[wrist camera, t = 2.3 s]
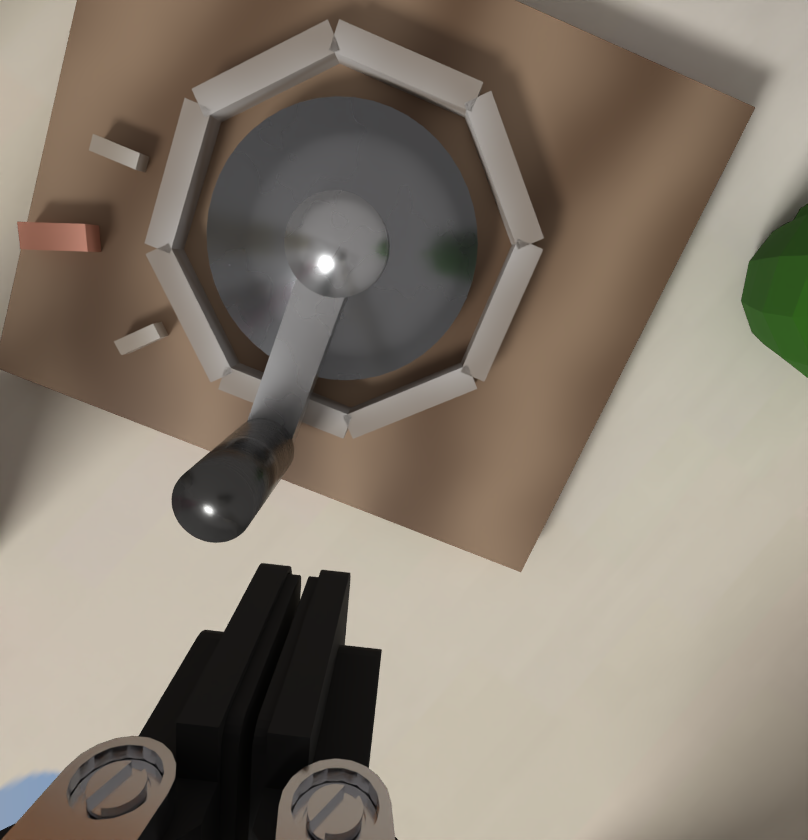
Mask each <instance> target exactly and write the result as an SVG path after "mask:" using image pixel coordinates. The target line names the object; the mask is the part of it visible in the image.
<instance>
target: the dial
mask: <svg viewBox="0 0 808 840" xmlns="http://www.w3.org/2000/svg"><path fill="white" fill-rule="evenodd" d="M477 248H478V238H477V223H476V217H475V211H474V206H473V203H472V200H471V196H470V193H469V190H468V187H467V185H466V183H465V181H464V179H463V176H462V174H461V172H460V170H459V169H458V167H457V165H456V164H455V162H454V160H453V159H452V157H451V156H450V154H449V153H448V152H447V151H446V149H445V148H444V147H443V146H442V144H441V143H440V142H439V141H438V140H437V139H436V138H435V137H434V136H433V135H432V134H431V133H430V132H429V131H428V130H427V129H425V128H424V127H423V126H422V125H420V124H419V123H418V122H416V121H415V120H413V119H412V118H410V117H409V116H407V115H406V114H404V113H402V112H400V111H398V110H396V109H394V108H392V107H389V106H387V105H384V104H381V103H378V102H375V101H372V100H366V99H361V98H356V97H341V96H333V97H323V98H315V99H311V100H307V101H303V102H299V103H297V104H294V105H292V106H289V107H287V108H284V109H282V110H280V111H278V112H277V113H275V114H273V115H272V116H270V117H268V118H266V119H265V120H264V121H263V122H261V123H260V124H259V125H258V126H256V127H255V128H254V129H252V130H251V131H250V132H249V133H248V134H247V135H246V137H245V138H244V139H243V140H242V141H241V142H240V143H239V144H238V145H237V147H236V148H235V150H234V151H233V152H232V154H231V155H230V156H229V158H228V159H227V161H226V163H225V165H224V167H223V169H222V171H221V173H220V174H219V177H218V179H217V182H216V185H215V188H214V190H213V193H212V197H211V202H210V206H209V210H208V220H207V251H208V258H209V265H210V269H211V272H212V276H213V280H214V283H215V286H216V288H217V291H218V293H219V295H220V298H221V300H222V302H223V304H224V306H225V307H226V309H227V311H228V313H229V314H230V316H231V317H232V319H233V320H234V322H235V323H236V324H237V326H238V327H239V328H240V330H241V331H242V332H243V333H244V334H245V335H246V336H247V337H248V338H249V339H250V340H251V341H252V343H254V344H255V345H256V346H257V347H258V348H260V349H261V350H262V351H263V352H264V353H266V354H267V355H269V356H270V357H269V359H268V362H267V365H266V368H265V371H264V374H263V377H262V380H261V383H260V385H259V388H258V391H257V394H256V397H255V400H254V403H253V406H252V409H251V412H250V414H249V417H248V420H247V422H245V423H244V424H242V425H241V426H240V427H239V428H238V429H236V430H235V431H234V432H233V433H232V434H230V435H229V436H228V437H227V438H226V439H225V440H223V441H222V442H221V443H220V444H219V445H218V446H216V447H215V448H214V449H213V450H212V451H210V452H209V453H208V454H207V455H206V456H205V457H203V458H202V459H201V460H200V461H199V462H198V463H196V464H195V465H194V466H193V467H192V468H191V469H189V470H188V471H187V472H186V473H185V474H184V475H182V476H181V477H180V479H179V480H178V481H177V483H176V485H175V487H174V489H173V493H172V508H173V511H174V515H175V517H176V519H177V520H178V522H179V524H180V525H181V526H182V527H183V528H184V529H185V530H186V531H187V532H188V533H189V534H191V535H192V536H194V537H196V538H198V539H200V540H203V541H207V542H215V543H217V542H226V541H229V540H232V539H234V538H236V537H238V536H239V535H240V534H242V533H243V532H244V531H245V529H246V528H247V527H248V526H249V524H250V523H251V521H252V520H253V518H254V517H255V515H256V514H257V513H258V511H259V510H260V508H261V507H262V505H263V504H264V503H265V501H266V500H267V498H268V497H269V495H270V494H271V492H272V491H273V490H274V488H275V487H276V485H277V484H278V482H279V481H280V480H281V478H282V477H283V475H284V474H285V472H286V471H287V469H288V468H289V467H290V465H291V463H292V461H293V458H294V444H293V443H294V441H295V438H296V435H297V433H298V430H299V427H300V424H301V422H302V419H303V416H304V414H305V411H306V408H307V406H308V403H309V400H310V397H311V395H312V392H313V389H314V387H315V384H316V381H317V379H318V377H320V378H325V379H333V380H357V379H366V378H371V377H376V376H380V375H383V374H386V373H389V372H392V371H395V370H397V369H399V368H401V367H403V366H405V365H407V364H409V363H411V362H412V361H414V360H415V359H417V358H418V357H420V356H421V355H423V354H424V353H425V352H426V351H428V350H429V349H430V348H431V347H432V346H433V345H434V344H435V343H437V342H438V340H439V339H440V338H441V337H442V336H443V335H444V334H445V333H446V331H447V330H448V329H449V328H450V326H451V325H452V323H453V322H454V320H455V319H456V317H457V316H458V314H459V312H460V310H461V308H462V306H463V304H464V302H465V300H466V298H467V295H468V292H469V290H470V287H471V284H472V281H473V276H474V271H475V267H476V260H477Z"/></svg>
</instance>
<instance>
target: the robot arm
mask: <svg viewBox="0 0 808 840" xmlns="http://www.w3.org/2000/svg"><path fill="white" fill-rule="evenodd" d="M349 589H350V573H346V572H337V571H328V570H321V572H320V575H319V577H311V576H309V578H308V580H307V583H306V585H305V588H304V591H303V594H302V597H301V599H300V592H301V576H300V575H293V574H292V571H291V566H283V565H274V564H265V563H261V564H260V565H259V567H258V569H257V571H256V573H255V575H254V576H253V578H252V580H251V582H250V584H249V586H248V588H247V590H246V592H245V593H244V595H243V597H242V599H241V601H240V603H239V605H238V607H237V609H236V610H235V612H234V614H233V616H232V618H231V620H230V622H229V624H228V625H227V627H226V629H225V631H224V632H220V631H211V630H204V631H202V632H201V633H200V634H199V635H198V637H197V638H196V640H195V642H194V643H193V645H192V647H191V649H190V650H189V652H188V654H187V655H186V657H185V659H184V660H183V662H182V664H181V665H180V667H179V669H178V670H177V672H176V674H175V676H174V677H173V679H172V681H171V682H170V684H169V686H168V687H167V689H166V691H165V692H164V694H163V696H162V697H161V699H160V701H159V703H158V704H157V706H156V708H155V709H154V711H153V713H152V714H151V716H150V718H149V719H148V721H147V723H146V724H145V726H144V728H143V730H142V731H141V733H140V735H139V736H129V737H121V738H115V739H112V740H109V741H106V742H103V743H100V744H97V745H96V746H94V747H92V748H90V749H89V750H87V751H85V752H83V753H82V754H80V755H79V756H78V757H77V758H76V759H75V760H74V761H72V762H71V763H70V764H69V765H68V766H67V767H66V768H65V769H64V770H63V771H62V772H61V773H60V775H59V776H58V777H57V778H56V779H55V780H54V781H53V782H52V784H51V785H50V786H49V787H48V788H47V789H46V790H45V791H44V792H43V794H42V795H41V796H40V797H39V798H38V799H37V800H36V801H35V803H34V804H33V805H32V806H31V807H30V808H29V809H28V810H27V812H26V813H25V814H24V815H23V816H22V817H21V818H20V819H19V820H18V821H17V823H16V824H13V825H11V826H9V827H7V828H5V829H3V830H1V831H0V840H398V839H397V838H396V837H395V833H394V824H393V814H392V805H391V800H390V797H389V793H388V790H387V787H386V786H385V785H384V783H383V782H382V780H381V779H380V777H379V776H378V775H377V774H375V773H374V772H373V771H372V770H370V769H369V761H370V752H371V743H372V734H373V725H374V716H375V707H376V698H377V688H378V679H379V670H380V661H381V651H382V649H373V648H364V647H355V646H346V645H345V635H346V623H347V612H348V600H349Z"/></svg>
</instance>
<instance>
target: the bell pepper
mask: <svg viewBox="0 0 808 840" xmlns="http://www.w3.org/2000/svg"><path fill="white" fill-rule="evenodd" d="M741 302H742V305H743V308H744V311H745V314H746V317H747V320H748V322H749V325H750V328H751V331H752V333H753V334H754V335H755V336H756V337H757V338H758V339H759V340H760V341H761V342H762V343H763V344H764V345H766V346H767V347H768V348H770V349H771V350H772V351H774V352H775V353H776V354H778V355H779V356H780V357H782V358H783V359H784V360H786V361H787V362H788V363H789V364H791V365H792V366H793V367H795V368H796V369H797V370H798V371H800V372H801V373H802V374H803V375H805V376H806V377H807V378H808V204H807V205H805V206H804V207H802V208H801V209H800V210H799V212H798V214H797V215H796V217H795V219H794V220H793V221H791V222H788V223H786V224H785V225H783V226H781V227H780V228H778V229H776V230H775V231H773V232H772V233H771V235H770V236H769V237H768V238H767V240H766V241H765V242H764V243H763V245H762V246H761V247H760V248H759V250H758V251H757V252H756V253H755V255H754V256H753V257H752V259H751V260H750V261H749V265H748V270H747V275H746V279H745V284H744V289H743V294H742V299H741Z"/></svg>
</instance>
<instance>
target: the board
mask: <svg viewBox="0 0 808 840" xmlns="http://www.w3.org/2000/svg"><path fill="white" fill-rule="evenodd" d="M333 96H341V97H356V98H361V99H366V100H372V101H375V102H378V103H381V104H384V105H387V106H389V107H392V108H394V109H396V110H398V111H400V112H402V113H404V114H406V115H407V116H409V117H410V118H412V119H413V120H415V121H416V122H418V123H419V124H420V125H422V126H423V127H424V128H425V129H427V130H428V131H429V132H430V133H431V134H432V135H433V136H434V137H435V138H436V139H437V140H438V141H439V142H440V143H441V144H442V146H443V147H444V148H445V149H446V151H447V152H448V153H449V154H450V156H451V157H452V159H453V160H454V162H455V164H456V165H457V167H458V169H459V170H460V172H461V174H462V176H463V179H464V181H465V183H466V185H467V187H468V190H469V193H470V196H471V200H472V203H473V206H474V211H475V217H476V223H477V238H478V248H477V260H476V267H475V271H474V276H473V281H472V284H471V287H470V290H469V292H468V295H467V298H466V300H465V302H464V304H463V306H462V308H461V310H460V312H459V314H458V316H457V317H456V319H455V320H454V322H453V323H452V325H451V326H450V328H449V329H448V330H447V331H446V333H445V334H444V335H443V336H442V337H441V338H440V339H439V340H438V342H437V343H435V344H434V345H433V346H432V347H431V348H430V349H429V350H428V351H426V352H425V353H424V354H423V355H421V356H420V357H418V358H417V359H415V360H414V361H412V362H411V363H409V364H407V365H405V366H403V367H401V368H399V369H397V370H395V371H392V372H389V373H386V374H383V375H380V376H376V377H371V378H366V379H357V380H333V379H325V378H320V377H318V379H317V381H316V384H315V387H314V389H313V392H312V395H311V397H310V400H309V403H308V406H307V408H306V411H305V414H304V416H303V419H302V422H301V424H300V427H299V430H298V433H297V435H296V438H295V441H294V443H293V444H294V458H293V461H292V463H291V465H290V467H289V468H288V469H287V471H286V472H285V474H284V475H283V477H282V478H281V479H283V480H286V481H288V482H291V483H293V484H296V485H298V486H301V487H304V488H306V489H309V490H311V491H314V492H316V493H319V494H322V495H324V496H327V497H329V498H332V499H334V500H337V501H340V502H342V503H345V504H347V505H350V506H352V507H355V508H357V509H360V510H363V511H365V512H368V513H370V514H373V515H375V516H378V517H381V518H383V519H386V520H388V521H391V522H393V523H396V524H399V525H401V526H404V527H406V528H409V529H411V530H414V531H417V532H419V533H422V534H424V535H427V536H429V537H432V538H435V539H437V540H440V541H442V542H445V543H447V544H450V545H453V546H455V547H458V548H460V549H463V550H465V551H468V552H470V553H473V554H476V555H478V556H481V557H483V558H486V559H488V560H491V561H494V562H496V563H499V564H501V565H504V566H506V567H509V568H512V569H514V570H517V571H519V572H521V571H522V569H523V567H524V565H525V563H526V561H527V559H528V557H529V555H530V553H531V551H532V549H533V547H534V545H535V543H536V541H537V539H538V537H539V535H540V533H541V531H542V529H543V527H544V525H545V523H546V522H547V520H548V518H549V516H550V514H551V512H552V510H553V508H554V506H555V504H556V502H557V500H558V498H559V496H560V494H561V492H562V490H563V488H564V486H565V484H566V482H567V480H568V478H569V476H570V474H571V472H572V470H573V468H574V466H575V464H576V462H577V460H578V458H579V456H580V454H581V452H582V450H583V448H584V446H585V444H586V442H587V440H588V438H589V436H590V434H591V432H592V430H593V428H594V426H595V424H596V422H597V420H598V418H599V416H600V414H601V412H602V410H603V408H604V406H605V405H606V403H607V401H608V399H609V397H610V395H611V393H612V391H613V389H614V387H615V385H616V383H617V381H618V379H619V377H620V375H621V373H622V371H623V369H624V367H625V365H626V363H627V361H628V359H629V357H630V355H631V353H632V351H633V349H634V347H635V345H636V343H637V341H638V339H639V337H640V335H641V333H642V331H643V329H644V327H645V325H646V323H647V321H648V319H649V317H650V315H651V313H652V311H653V309H654V307H655V305H656V303H657V301H658V299H659V297H660V295H661V293H662V291H663V290H664V288H665V286H666V284H667V282H668V280H669V278H670V276H671V274H672V272H673V270H674V268H675V266H676V264H677V262H678V260H679V258H680V256H681V254H682V252H683V250H684V248H685V246H686V244H687V242H688V240H689V238H690V236H691V234H692V232H693V230H694V228H695V226H696V224H697V222H698V220H699V218H700V216H701V214H702V212H703V210H704V208H705V206H706V204H707V202H708V200H709V198H710V196H711V194H712V192H713V190H714V188H715V186H716V184H717V182H718V180H719V178H720V176H721V175H722V173H723V171H724V169H725V167H726V165H727V163H728V161H729V159H730V157H731V155H732V153H733V151H734V149H735V147H736V145H737V143H738V141H739V139H740V137H741V135H742V133H743V131H744V129H745V127H746V125H747V123H748V121H749V119H750V117H751V115H752V113H753V111H754V109H755V107H753V106H751V105H749V104H747V103H745V102H742V101H740V100H738V99H736V98H733V97H731V96H729V95H727V94H724V93H722V92H720V91H718V90H715V89H713V88H711V87H709V86H706V85H704V84H702V83H700V82H697V81H695V80H693V79H691V78H688V77H686V76H684V75H682V74H680V73H677V72H675V71H673V70H671V69H668V68H666V67H664V66H662V65H659V64H657V63H655V62H653V61H650V60H648V59H646V58H644V57H641V56H639V55H637V54H635V53H632V52H630V51H628V50H626V49H623V48H621V47H619V46H617V45H615V44H612V43H610V42H608V41H606V40H603V39H601V38H599V37H597V36H594V35H592V34H590V33H588V32H585V31H583V30H581V29H579V28H576V27H574V26H572V25H570V24H567V23H565V22H563V21H561V20H559V19H556V18H554V17H552V16H550V15H547V14H545V13H543V12H541V11H538V10H536V9H534V8H532V7H529V6H527V5H525V4H523V3H520V2H518V1H516V0H77V3H76V7H75V12H74V16H73V20H72V25H71V29H70V34H69V38H68V43H67V47H66V52H65V56H64V61H63V65H62V69H61V74H60V78H59V83H58V87H57V92H56V96H55V101H54V105H53V109H52V114H51V118H50V123H49V127H48V132H47V136H46V141H45V145H44V149H43V154H42V158H41V163H40V167H39V172H38V176H37V181H36V185H35V189H34V194H33V198H32V203H31V207H30V212H29V216H28V221H27V222H17V224H18V233H19V241H20V249H21V252H20V256H19V261H18V265H17V269H16V274H15V278H14V283H13V287H12V292H11V296H10V301H9V305H8V309H7V314H6V318H5V323H4V327H3V332H2V336H1V341H0V369H1V370H3V371H6V372H8V373H11V374H13V375H16V376H19V377H21V378H24V379H26V380H29V381H31V382H34V383H37V384H39V385H42V386H44V387H47V388H49V389H52V390H54V391H57V392H60V393H62V394H65V395H67V396H70V397H72V398H75V399H78V400H80V401H83V402H85V403H88V404H90V405H93V406H96V407H98V408H101V409H103V410H106V411H108V412H111V413H114V414H116V415H119V416H121V417H124V418H126V419H129V420H132V421H134V422H137V423H139V424H142V425H144V426H147V427H150V428H152V429H155V430H157V431H160V432H162V433H165V434H167V435H170V436H173V437H175V438H178V439H180V440H183V441H185V442H188V443H191V444H193V445H196V446H198V447H201V448H203V449H206V450H209V451H212V450H213V449H214V448H215V447H216V446H218V445H219V444H220V443H221V442H222V441H223V440H225V439H226V438H227V437H228V436H229V435H230V434H232V433H233V432H234V431H235V430H236V429H238V428H239V427H240V426H241V425H242V424H244V423H245V422H247V420H248V417H249V414H250V412H251V409H252V406H253V403H254V400H255V397H256V394H257V391H258V388H259V385H260V383H261V380H262V377H263V374H264V371H265V368H266V365H267V362H268V359H269V357H270V356H269V355H267V354H266V353H264V352H263V351H262V350H261V349H260V348H258V347H257V346H256V345H255V344H254V343H252V341H251V340H250V339H249V338H248V337H247V336H246V335H245V334H244V333H243V332H242V331H241V330H240V328H239V327H238V326H237V324H236V323H235V322H234V320H233V319H232V317H231V316H230V314H229V313H228V311H227V309H226V307H225V306H224V304H223V302H222V300H221V298H220V295H219V293H218V291H217V288H216V286H215V283H214V280H213V276H212V272H211V269H210V265H209V258H208V251H207V220H208V210H209V206H210V202H211V197H212V193H213V190H214V188H215V185H216V182H217V179H218V177H219V174H220V173H221V171H222V169H223V167H224V165H225V163H226V161H227V159H228V158H229V156H230V155H231V154H232V152H233V151H234V150H235V148H236V147H237V145H238V144H239V143H240V142H241V141H242V140H243V139H244V138H245V137H246V135H247V134H248V133H249V132H250V131H251V130H252V129H254V128H255V127H256V126H258V125H259V124H260V123H261V122H263V121H264V120H265V119H266V118H268V117H270V116H272V115H273V114H275V113H277V112H278V111H280V110H282V109H284V108H287V107H289V106H292V105H294V104H297V103H299V102H303V101H307V100H311V99H315V98H323V97H333Z"/></svg>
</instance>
